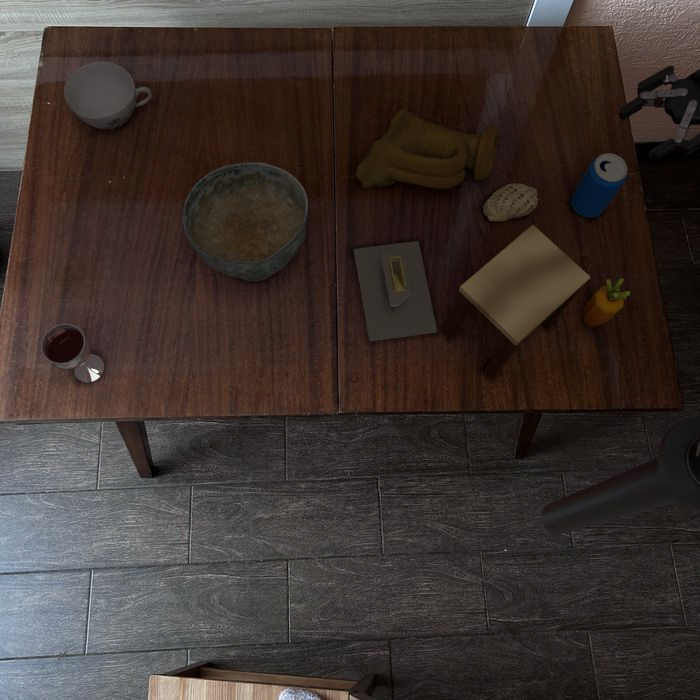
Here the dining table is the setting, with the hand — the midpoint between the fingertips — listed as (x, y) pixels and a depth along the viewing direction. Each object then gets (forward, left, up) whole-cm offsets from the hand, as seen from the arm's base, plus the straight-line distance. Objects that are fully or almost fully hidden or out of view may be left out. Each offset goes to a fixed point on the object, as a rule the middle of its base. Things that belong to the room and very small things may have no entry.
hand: (635, 136), depth 112 cm
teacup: (+73, +56, -19) cm, 94 cm away
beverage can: (0, +2, -19) cm, 19 cm away
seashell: (+9, +14, -19) cm, 25 cm away
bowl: (+33, +55, -19) cm, 67 cm away
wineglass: (+35, +89, -19) cm, 98 cm away
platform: (+11, +41, -19) cm, 46 cm away
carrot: (-16, +20, -19) cm, 32 cm away
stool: (-6, +32, -19) cm, 38 cm away
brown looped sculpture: (+25, +20, -19) cm, 37 cm away
